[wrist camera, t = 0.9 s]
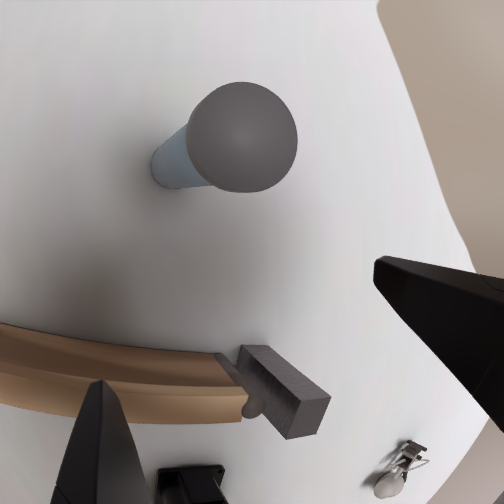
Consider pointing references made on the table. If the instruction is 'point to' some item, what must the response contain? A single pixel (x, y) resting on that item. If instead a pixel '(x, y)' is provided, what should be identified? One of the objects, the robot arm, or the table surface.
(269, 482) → the table surface
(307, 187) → the table surface
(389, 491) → the grey squirrel figure
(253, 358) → the hinge post
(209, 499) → the robot arm
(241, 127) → the capped peg handle
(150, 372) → the wooden plank
